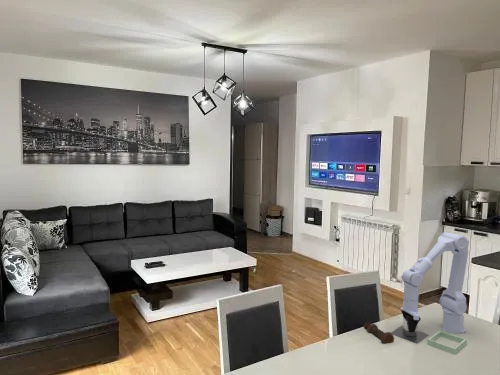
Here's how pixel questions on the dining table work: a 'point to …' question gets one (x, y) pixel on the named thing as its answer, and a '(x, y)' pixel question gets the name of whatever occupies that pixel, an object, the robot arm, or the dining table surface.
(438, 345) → the parts tray
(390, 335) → the bolt
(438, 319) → the dining table surface
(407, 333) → the grey metal block
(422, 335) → the stud plate
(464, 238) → the robot arm
